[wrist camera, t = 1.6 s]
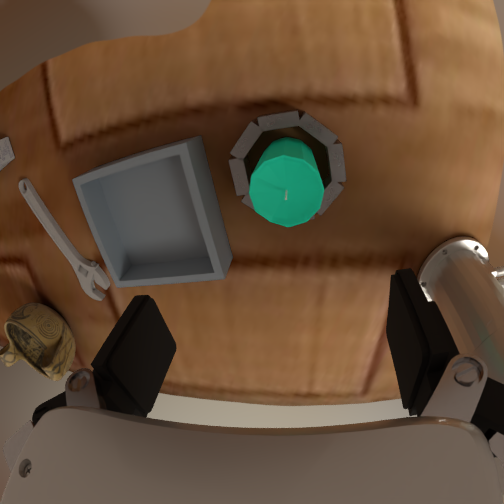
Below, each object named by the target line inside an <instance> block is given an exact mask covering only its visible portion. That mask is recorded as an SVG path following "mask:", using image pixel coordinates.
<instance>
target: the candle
mask: <svg viewBox="0 0 504 504" xmlns="http://www.w3.org/2000/svg"><path fill="white" fill-rule="evenodd" d="M323 194H324V187H323V184H322V180H321V177H320V174H319V171H318V168H317V165H316V162H315V159H314V156H313V153H312V150H311V148H310V147H308V146H307V145H306V144H305V143H304V142H303V141H302V140H300V139H295V138H290V137H284V138H281V139H278V140H275V141H273V142H272V143H271V144H270V145H269V146H268V147H267V148H266V150H265V151H264V152H263V154H262V156H261V158H260V160H259V162H258V164H257V166H256V168H255V170H254V171H253V173H252V175H251V181H250V189H249V195H250V198H251V201H252V203H253V206H254V209H255V212H257V213H258V214H259V215H261V216H262V217H264V218H265V219H267V220H268V221H269V222H272V223H275V224H279V225H282V226H285V227H292V226H295V225H298V224H301V223H304V222H307V221H308V220H309V219H310V218H311V217H312V216H313V215H314V214H315V213H316V212H317V211H318V210H319V209H320V207H321V203H322V198H323Z"/></svg>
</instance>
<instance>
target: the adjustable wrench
mask: <svg viewBox="0 0 504 504" xmlns="http://www.w3.org/2000/svg"><path fill="white" fill-rule="evenodd" d="M24 183H25V184H26V187H27V190H26V189H25V188H24ZM19 190H20V192H21V194H22V195H23V197H24V198H25V200H26V202H27V203H28V205H29V206H30V208H31V209H32V211H33V212H34V214H35V215H36V217H37V218H38V220H39V221H40V223H41V224H42V225H43V227H44V228H45V230H46V231H47V232H48V234H49V235H50V237H51V238H52V239H53V241H54V242H55V243H56V245H57V246H58V247H59V249H60V250H61V251H62V253H63V254H64V255H65V257H66V258H67V259H68V260H69V262H70V263H71V265H72V267H73V269H74V271H75V273H76V275H77V277H78V279H79V282H80V284H81V287H82V288H83V290H84V291H85V293H86V294H87V295H89V296H90V297H91V298H93V299H95V300H99V301H102V299H103V298H104V297H105V296H106V295H104V294H103V293H102V292H100V291H99V290H97V289H96V288H95V285H94V282H93V280H95V282H96V283H97V284H98V285H100V286H101V287H103V288H104V289H105V290H107V288H108V287H109V286H110V282H109V279H108V277H107V276H106V274H105V273H104V271H103V270H102V269H101V268H100V267H99V264H98V263H96V262H95V261H92V262H90V261H88V260H86V259H85V258H83V257H82V256H81V255H80V254H79V253H78V251H77V250H76V249H75V247H74V246H73V245H72V243H71V242H70V241H69V239H68V238H67V237H66V235H65V234H64V232H63V231H62V230H61V228H60V227H59V225H58V224H57V222H56V221H55V220H54V218H53V217H52V215H51V214H50V212H49V211H48V209H47V208H46V206H45V205H44V203H43V201H42V200H41V198H40V197H39V195H38V194H37V192H36V190H35V189H34V187H33V186H32V184H31V182H30V181H29V179H27V178H25V179H23V180H21V181H20V182H19Z"/></svg>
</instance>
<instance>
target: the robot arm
mask: <svg viewBox="0 0 504 504" xmlns="http://www.w3.org/2000/svg"><path fill="white" fill-rule="evenodd" d="M503 275H504V266H501V267H497V268H493V267H492V266H491V264H490V263H489V257H488V254H487V251H486V250H485V248H484V247H483V245H482V244H481V243H480V242H478V241H477V240H476V239H473V238H471V237H464V236H463V237H456V238H453V239H450V240H448V241H446V242H444V243H442V244H441V245H440V246H438V247H437V248H436V249H435V250H434V251H433V252H432V253H431V254H430V255H429V256H428V257H427V259H426V260H425V261H424V263H423V265H422V267H421V268H420V271H419V274H418V277H417V278H416V276H415V274H414V272H413V271H412V269H410V268H409V269H402V270H397V271H396V273H395V275H391V282H390V296H389V307H388V317H387V326H386V334H387V339H388V343H389V347H390V351H391V355H392V359H393V363H394V367H395V371H396V376H397V380H398V385H399V389H400V394H401V399H402V404H403V408H404V409H407V408H408V410H409V415H410V416H412V415H417V417H406V418H398V419H390V420H381V421H375V422H367V423H357V424H348V425H335V426H323V427H306V428H238V427H221V426H208V425H197V424H188V423H179V422H172V421H164V420H158V419H151V418H146V417H147V414H148V413H149V412H151V410H152V408H153V406H154V403H155V400H156V398H157V396H158V393H159V391H160V388H161V386H162V383H163V381H164V378H165V376H166V373H167V371H168V369H169V366H170V364H171V361H172V359H173V357H174V354H175V352H176V343H175V341H174V339H173V337H172V335H171V333H170V331H169V329H168V327H167V325H166V323H165V321H164V319H163V317H162V315H161V313H160V311H159V309H158V307H157V305H156V303H155V301H154V299H153V298H151V297H150V296H149V295H137V296H135V297H134V298H133V299H132V301H131V302H130V304H129V305H128V307H127V308H126V310H125V311H124V313H123V314H122V316H121V317H120V319H119V320H118V322H117V323H116V325H115V327H114V328H113V330H112V331H111V333H110V334H109V336H108V337H107V339H106V341H105V342H104V344H103V345H102V347H101V349H100V350H99V352H98V353H97V355H96V357H95V358H94V360H93V362H92V363H91V366H92V367H93V368H94V370H93V372H92V371H91V370H90V369H87V368H81V369H79V370H76V371H75V372H73V373H72V374H71V375H70V376H69V378H68V379H67V381H66V384H65V392H63V393H61V394H59V395H57V396H56V397H54V398H52V399H50V400H48V401H46V402H44V403H42V404H41V405H39V406H38V407H37V408H36V409H35V411H34V413H33V417H32V421H33V422H32V421H31V420H30V421H28V422H27V423H26V424H25V425H24V426H23V427H21V428H20V429H19V430H18V431H17V432H16V433H15V434H14V435H12V436H11V437H10V438H9V439H8V440H7V441H6V442H5V445H4V449H3V452H4V456H5V459H6V461H7V464H8V467H9V469H10V471H11V475H10V478H9V480H8V482H7V485H6V488H5V490H4V493H3V496H2V499H1V502H0V504H504V278H500V279H496V278H495V277H497V276H503Z"/></svg>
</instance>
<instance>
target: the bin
mask: <svg viewBox="0 0 504 504" xmlns="http://www.w3.org/2000/svg"><path fill="white" fill-rule="evenodd" d="M72 181H73V184H74V187H75V190H76V192H77V195H78V198H79V201H80V203H81V206H82V209H83V211H84V214H85V217H86V219H87V222H88V224H89V227H90V229H91V232H92V234H93V236H94V239H95V241H96V243H97V246H98V248H99V250H100V253H101V255H102V257H103V259H104V262H105V264H106V266H107V268H108V270H109V272H110V274H111V276H112V279H113V281H114V283H115V285H116V287H117V288H119V287H134V286H148V285H161V284H174V283H186V282H198V281H210V280H221V279H225V277H226V275H227V272H228V269H229V266H230V263H231V261H232V258H233V256H232V252H231V248H230V245H229V241H228V237H227V234H226V230H225V226H224V222H223V219H222V215H221V211H220V207H219V204H218V200H217V196H216V192H215V188H214V184H213V180H212V177H211V173H210V169H209V165H208V161H207V157H206V153H205V149H204V145H203V141H202V137H201V135H200V136H196V137H192V138H188V139H184V140H181V141H177V142H173V143H170V144H166V145H162V146H159V147H156V148H152V149H149V150H146V151H142V152H139V153H136V154H133V155H130V156H127V157H124V158H121V159H118V160H115V161H112V162H109V163H106V164H104V165H101V166H98V167H95V168H93V169H91V170H89V171H87V172H85V173H83V174H81V175H80V176H78V177H76V178H74V179H72Z"/></svg>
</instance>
